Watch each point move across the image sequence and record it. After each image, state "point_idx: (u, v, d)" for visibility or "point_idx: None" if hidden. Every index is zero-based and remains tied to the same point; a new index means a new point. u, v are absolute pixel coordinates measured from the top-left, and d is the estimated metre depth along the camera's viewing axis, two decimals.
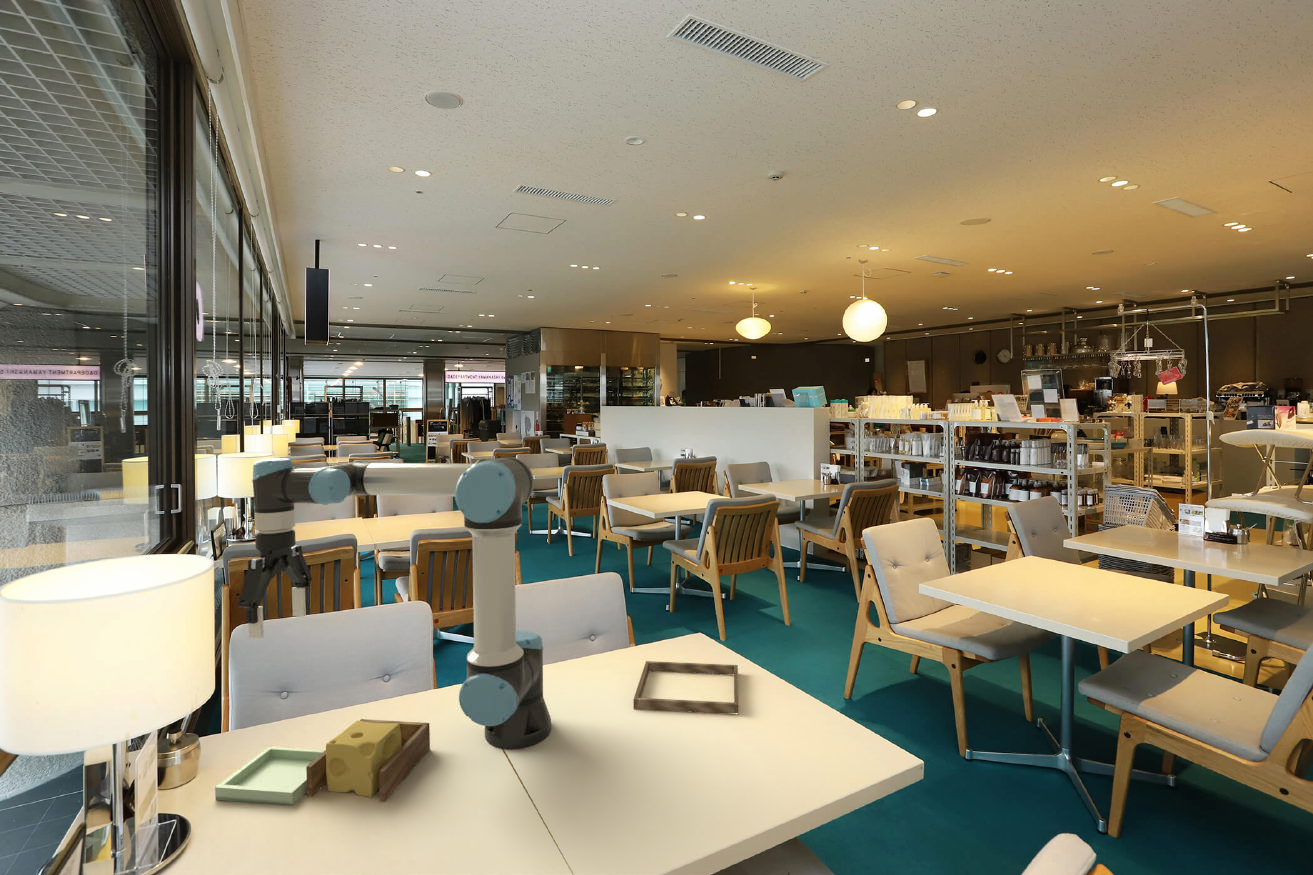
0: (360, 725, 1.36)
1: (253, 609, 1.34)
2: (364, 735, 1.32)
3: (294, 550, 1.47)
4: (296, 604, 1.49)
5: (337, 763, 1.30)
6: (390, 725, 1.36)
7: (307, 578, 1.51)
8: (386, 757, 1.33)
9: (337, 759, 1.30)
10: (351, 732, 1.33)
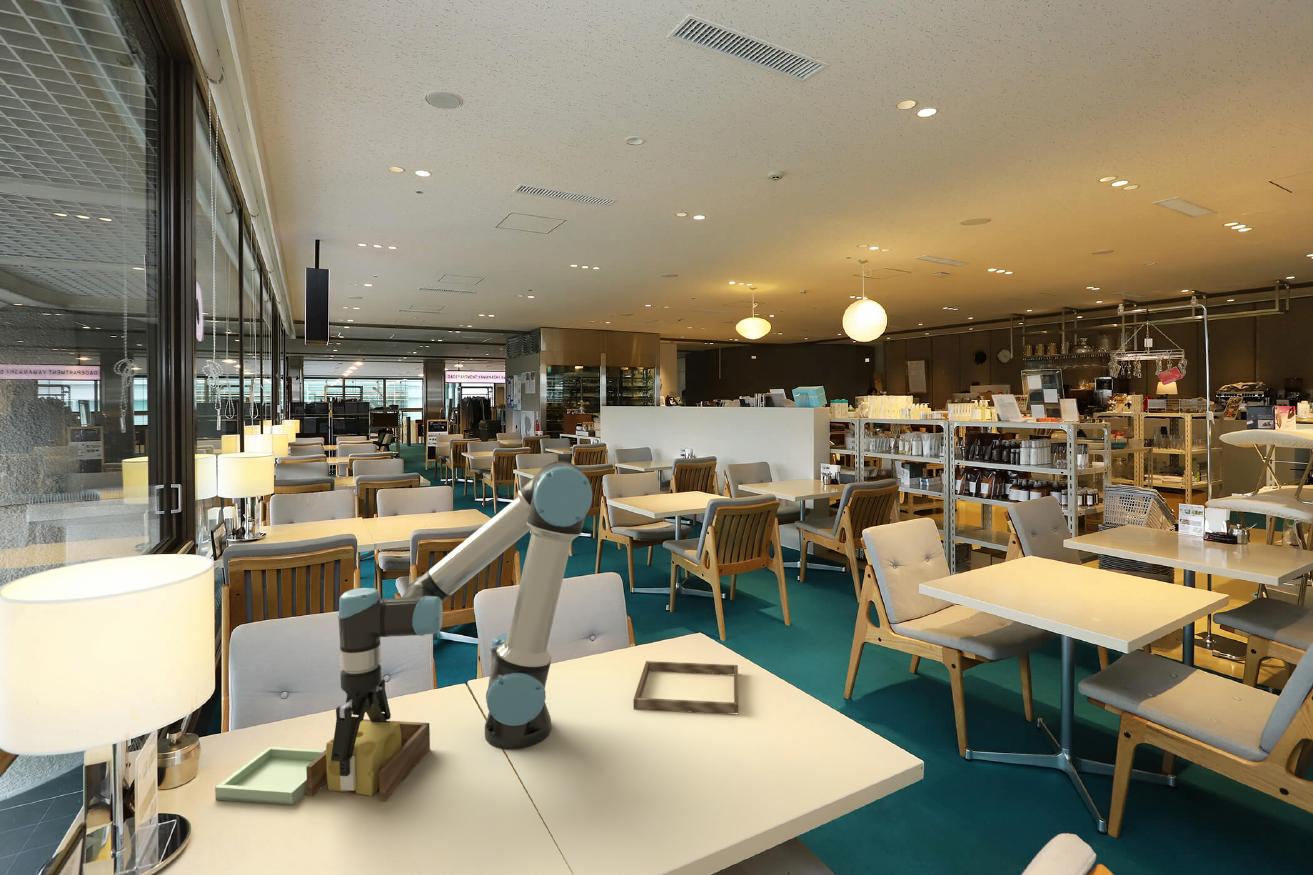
0: (360, 724, 1.36)
1: (346, 761, 1.26)
2: (364, 734, 1.32)
3: (377, 684, 1.38)
4: None
5: (337, 763, 1.31)
6: (390, 724, 1.36)
7: (386, 716, 1.40)
8: (387, 757, 1.33)
9: None
10: None
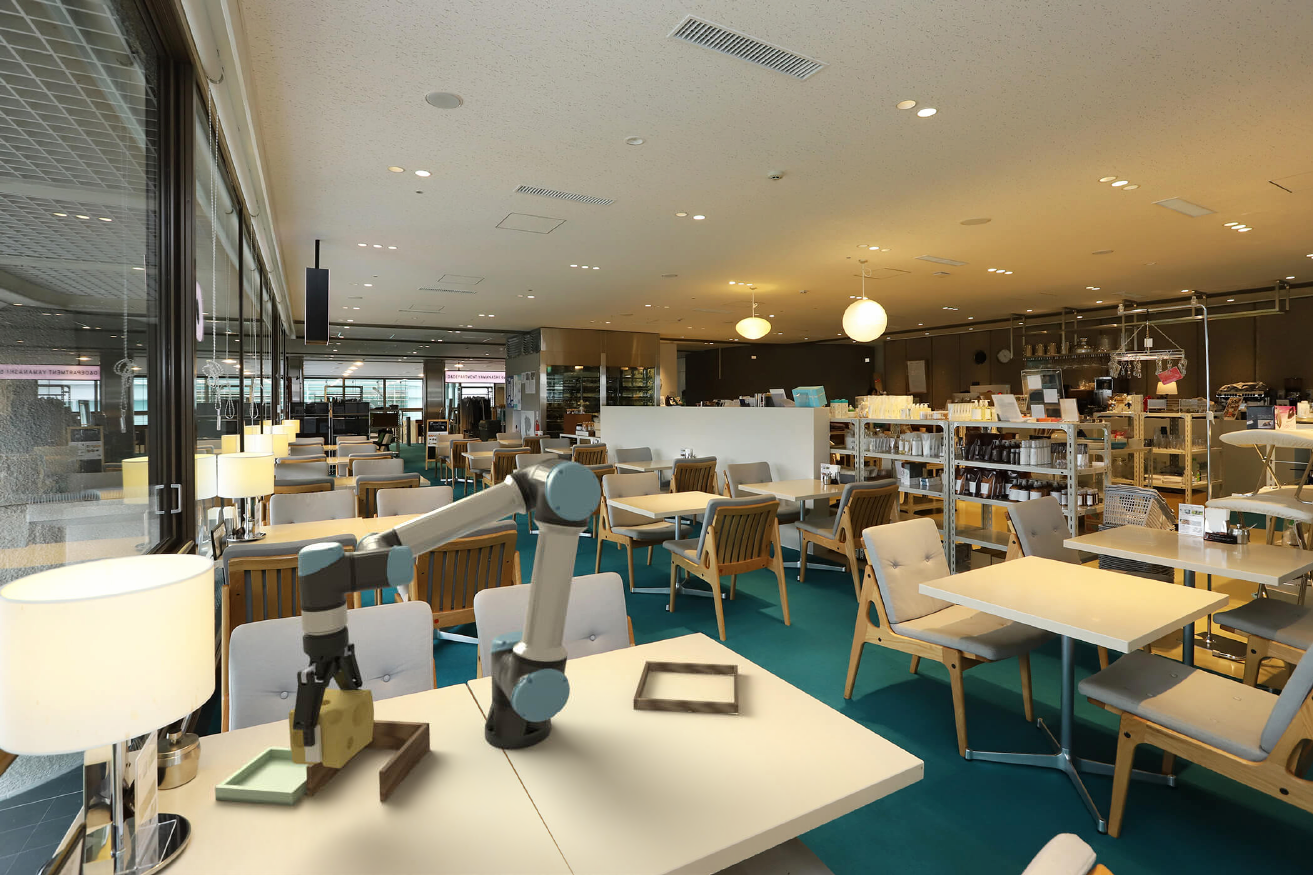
0: (328, 693, 1.25)
1: (310, 730, 1.15)
2: (331, 702, 1.21)
3: (346, 649, 1.26)
4: None
5: (302, 734, 1.19)
6: (360, 691, 1.24)
7: (357, 683, 1.29)
8: (357, 726, 1.21)
9: None
10: None
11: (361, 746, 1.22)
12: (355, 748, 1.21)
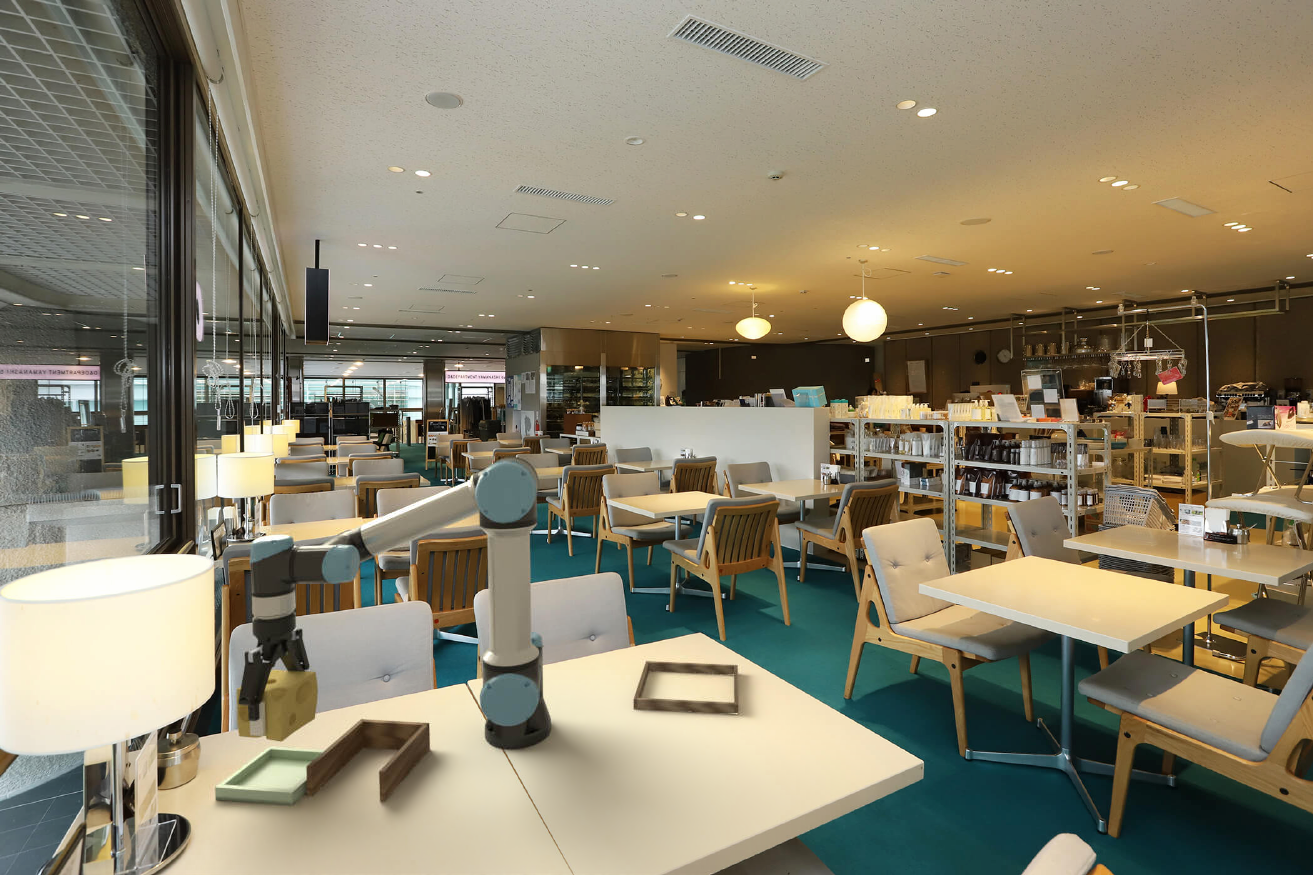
0: (275, 673, 1.36)
1: (255, 706, 1.25)
2: (277, 681, 1.32)
3: (294, 633, 1.37)
4: None
5: None
6: (305, 673, 1.35)
7: (304, 666, 1.39)
8: (300, 704, 1.32)
9: None
10: None
11: (303, 723, 1.33)
12: (297, 724, 1.31)
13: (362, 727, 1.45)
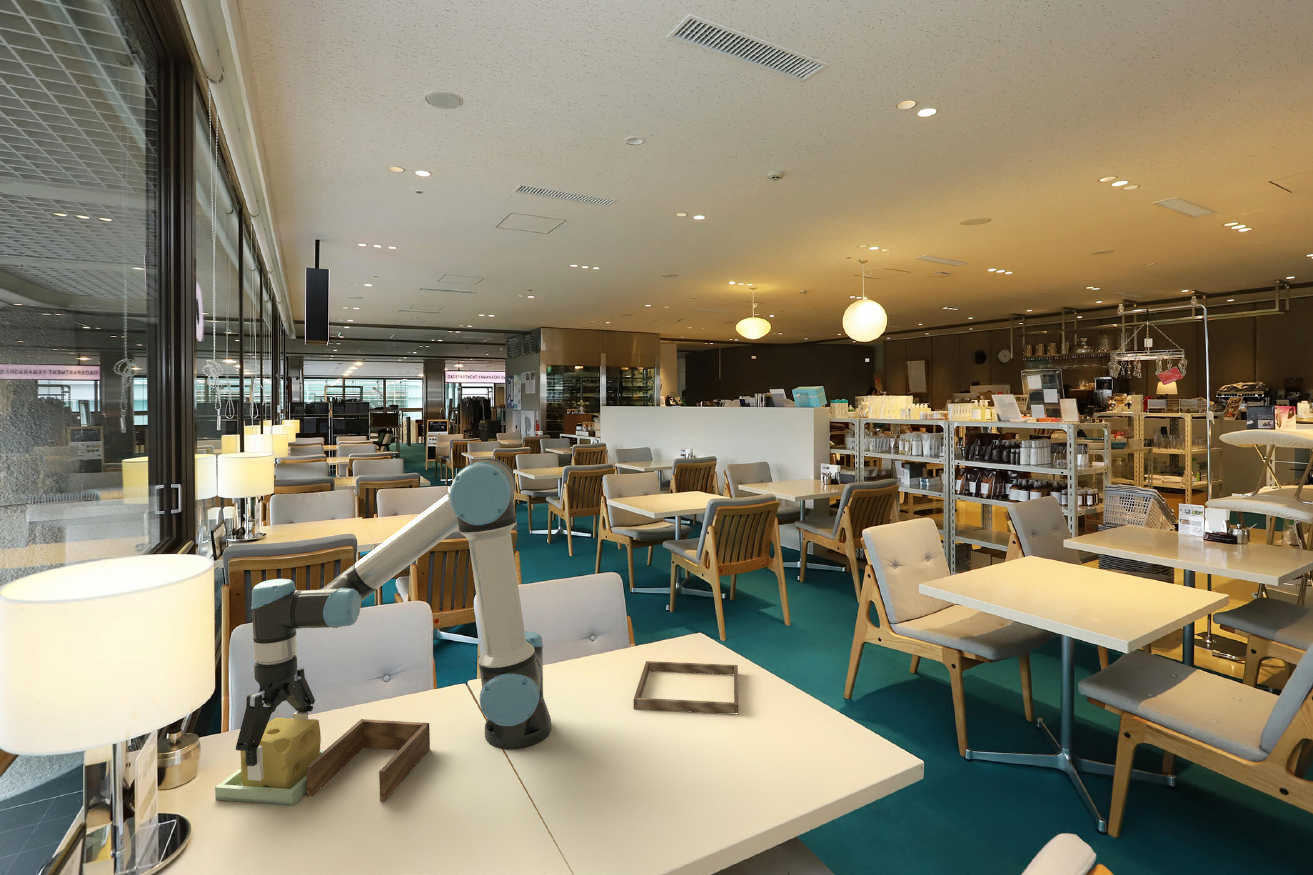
0: (278, 721, 1.36)
1: (252, 751, 1.25)
2: (280, 731, 1.32)
3: (296, 674, 1.37)
4: None
5: None
6: (308, 721, 1.36)
7: (309, 701, 1.41)
8: (304, 753, 1.33)
9: None
10: (268, 729, 1.33)
11: None
12: (301, 773, 1.32)
13: (362, 727, 1.45)
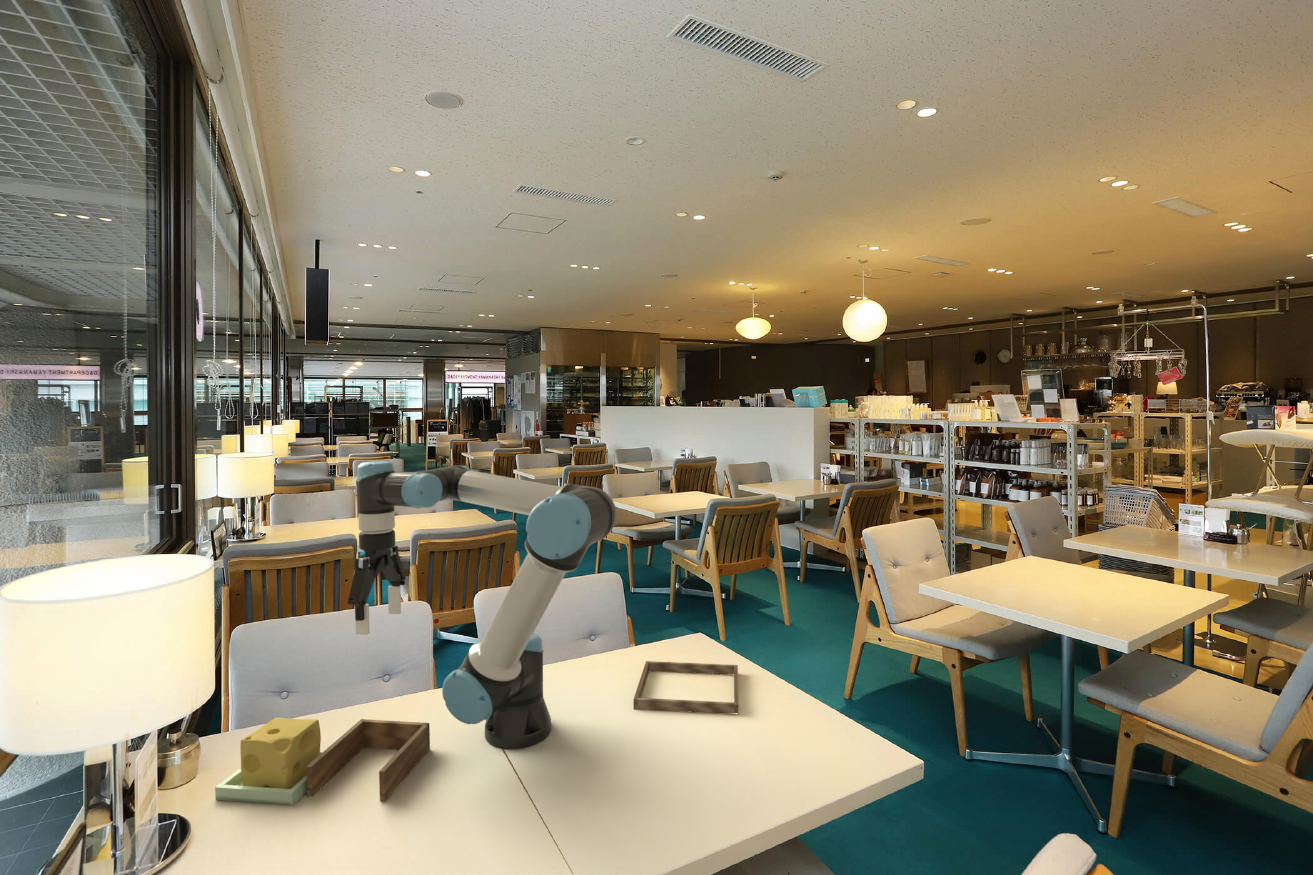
0: (278, 721, 1.36)
1: (361, 607, 1.40)
2: (280, 731, 1.32)
3: (391, 550, 1.53)
4: (392, 602, 1.54)
5: (253, 760, 1.31)
6: (308, 721, 1.36)
7: (402, 577, 1.56)
8: (304, 753, 1.33)
9: (252, 755, 1.30)
10: (268, 729, 1.33)
11: None
12: (301, 773, 1.32)
13: (362, 727, 1.45)
